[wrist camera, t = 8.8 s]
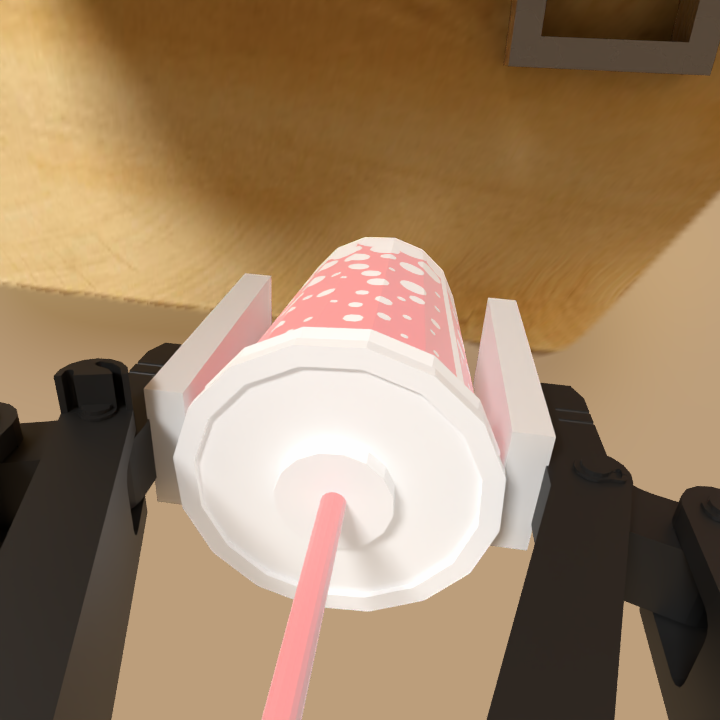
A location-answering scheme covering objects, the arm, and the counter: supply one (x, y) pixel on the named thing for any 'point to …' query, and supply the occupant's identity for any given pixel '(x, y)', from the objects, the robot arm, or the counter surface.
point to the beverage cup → (346, 451)
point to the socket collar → (617, 43)
